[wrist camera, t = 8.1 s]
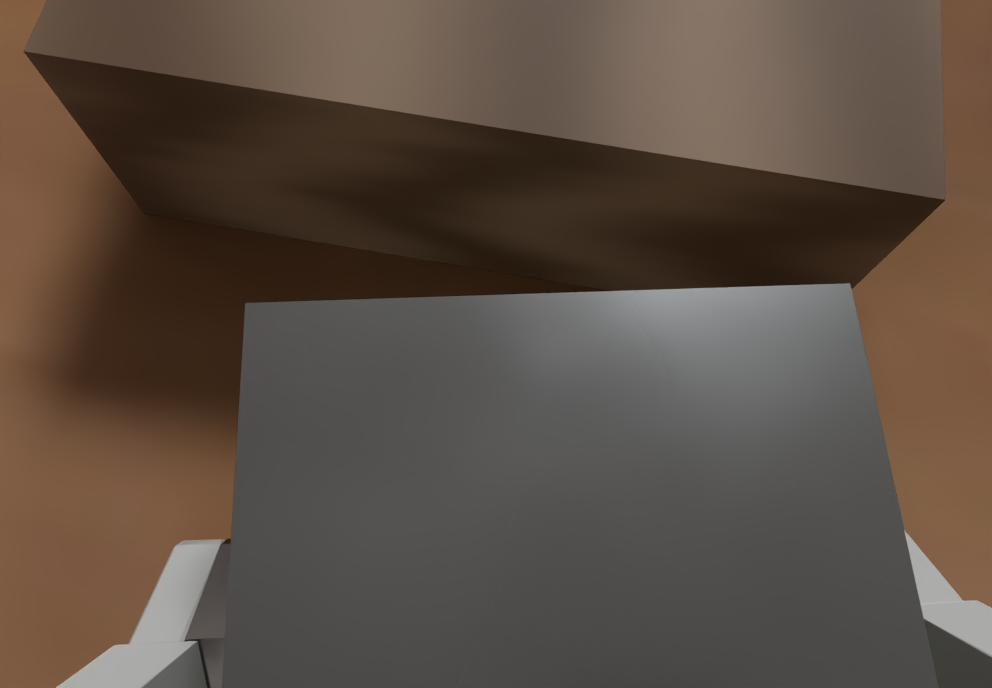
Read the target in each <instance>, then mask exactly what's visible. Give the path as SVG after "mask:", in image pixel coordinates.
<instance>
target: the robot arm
mask: <svg viewBox="0 0 992 688" xmlns="http://www.w3.org/2000/svg"><path fill="white" fill-rule="evenodd" d="M904 531H905V530H904ZM905 536H906V540H907V545H908V549H909V554H910V559H911V563H912V568H913V572H914V577H915V581H916V586H917V590H918V595H919V600H920V604H921V609H922V613H923V618H924V622H925V627H926V632H927V636H928V641H929V645H930V650H931V654H932V659H933V663H934V668H935V673H936V677H937V682H938V686H939V688H992V608H991V607H989V606H987V605H985V604H983V603H981V602H979V601H977V600H975V601H963V600H962V599H961V598H960V596H959V595H958V594H957V593H956V592H955V590H954V589H953V588H952V587H951V586H950V584H949V583H948V582H947V581H946V580H945V578H944V577H943V576H942V575H941V574H940V572H939V571H938V570H937V569H936V568H935V566H934V565H933V564H932V563H931V562H930V560H929V559H928V558H927V557H926V556H925V554H924V553H923V552H922V551H921V550H920V548H919V547H918V546H917V545H916V544H915V542H914V541H913V540H912V539H911V538H910V536H909V535H908V534H907V533H906V532H905ZM230 544H231V539H226V540H223V539H212V540H186V541H181V542H180V543H179V544H177V545H176V546H175V547H174V548H173V550H172V552H171V554H170V556H169V558H168V560H167V563H166V565H165V567H164V569H163V571H162V573H161V575H160V577H159V580H158V582H157V584H156V586H155V588H154V590H153V592H152V594H151V597H150V599H149V601H148V603H147V605H146V607H145V609H144V612H143V614H142V616H141V618H140V620H139V622H138V624H137V626H136V629H135V631H134V633H133V635H132V637H131V639H130V641H129V644H126V645H114V646H112V647H111V648H110V649H108V650H107V651H106V652H104V653H103V654H102V655H100V656H99V657H97V658H96V659H95V660H93V661H92V662H91V663H89V664H88V665H86V666H85V667H84V668H82V669H81V670H80V671H78V672H77V673H76V674H74V675H73V676H71V677H70V678H69V679H67V680H66V681H65V682H63V683H62V684H60V685H59V686H58V687H56V688H222V675H223V659H224V642H225V626H226V610H227V593H228V577H229V561H230Z"/></svg>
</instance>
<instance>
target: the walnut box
mask: <svg viewBox="0 0 992 688" xmlns="http://www.w3.org/2000/svg"><path fill="white" fill-rule="evenodd" d="M24 52H25V54H26V55H27V57H28V58H29V59H30V61H31V62H32V63H33V65H34V66H35V67H36V69H37V70H38V71H39V73H40V74H41V75H42V77H43V78H44V79H45V81H46V82H47V83H48V85H49V86H50V87H51V89H52V90H53V91H54V93H55V94H56V95H57V97H58V98H59V99H60V101H61V102H62V103H63V105H64V106H65V107H66V109H67V110H68V112H69V113H70V114H71V116H72V117H73V118H74V120H75V121H76V122H77V124H78V125H79V126H80V128H81V129H82V130H83V132H84V133H85V134H86V136H87V137H88V138H89V140H90V141H91V142H92V144H93V145H94V146H95V148H96V149H97V150H98V152H99V153H100V154H101V156H102V157H103V158H104V160H105V161H106V162H107V164H108V165H109V167H110V168H111V169H112V171H113V172H114V173H115V175H116V176H117V177H118V179H119V180H120V181H121V183H122V184H123V185H124V187H125V188H126V189H127V191H128V192H129V193H130V195H131V196H132V197H133V199H134V200H135V201H136V203H137V204H138V205H139V207H140V208H141V209H142V211H143V212H144V213H145V214H151V215H157V216H163V217H169V218H175V219H181V220H187V221H193V222H199V223H205V224H211V225H217V226H223V227H229V228H235V229H241V230H247V231H253V232H259V233H265V234H271V235H277V236H283V237H289V238H295V239H301V240H307V241H313V242H319V243H325V244H331V245H337V246H343V247H349V248H356V249H362V250H368V251H374V252H380V253H386V254H392V255H398V256H404V257H410V258H416V259H422V260H428V261H434V262H440V263H446V264H452V265H458V266H464V267H470V268H476V269H482V270H488V271H494V272H500V273H506V274H512V275H518V276H524V277H530V278H536V279H542V280H548V281H554V282H560V283H566V284H572V285H578V286H584V287H590V288H596V289H602V290H608V291H630V290H661V289H692V288H723V287H754V286H785V285H815V284H846V283H850V285H851V289H852V288H854V287H855V286H856V285H857V284H858V283H859V282H860V281H861V280H862V279H863V278H864V277H865V276H866V275H867V274H868V273H869V272H870V271H871V270H872V269H873V268H874V267H876V266H877V265H878V264H879V263H880V262H881V261H882V260H883V259H884V258H885V257H886V256H887V255H888V254H889V253H890V252H891V251H892V250H893V249H894V248H895V247H897V246H898V245H899V244H900V243H901V242H902V241H903V240H904V239H905V238H906V237H907V236H908V235H909V234H910V233H911V232H912V231H913V230H914V229H915V228H916V227H917V226H919V225H920V224H921V223H922V222H923V221H924V220H925V219H926V218H927V217H928V216H929V215H930V214H931V213H932V212H933V211H934V210H935V209H936V208H937V207H938V206H940V205H941V204H942V203H943V202H944V201H945V161H944V121H943V82H942V42H941V2H940V0H47V1H46V4H45V6H44V8H43V10H42V12H41V14H40V17H39V19H38V21H37V23H36V25H35V27H34V30H33V32H32V34H31V36H30V38H29V40H28V43H27V45H26V47H25V49H24Z"/></svg>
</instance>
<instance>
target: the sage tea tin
mask: <svg viewBox="0 0 992 688" xmlns="http://www.w3.org/2000/svg"><path fill="white" fill-rule="evenodd" d="M222 688H939V686H938V682H937V677H936V673H935V668H934V663H933V659H932V654H931V650H930V645H929V641H928V636H927V632H926V627H925V622H924V618H923V613H922V609H921V604H920V600H919V595H918V590H917V586H916V581H915V577H914V572H913V568H912V563H911V559H910V554H909V549H908V545H907V540H906V536H905V531H904V527H903V522H902V517H901V513H900V508H899V504H898V499H897V495H896V490H895V486H894V481H893V476H892V472H891V467H890V463H889V458H888V454H887V449H886V444H885V440H884V435H883V431H882V426H881V422H880V417H879V413H878V408H877V403H876V399H875V394H874V390H873V385H872V381H871V376H870V372H869V367H868V362H867V358H866V353H865V349H864V344H863V340H862V335H861V330H860V326H859V321H858V317H857V312H856V308H855V303H854V299H853V294H852V289H851V285H850V283H846V284H815V285H785V286H754V287H723V288H692V289H661V290H630V291H599V292H569V293H538V294H507V295H476V296H445V297H414V298H383V299H353V300H322V301H291V302H260V303H245V315H244V332H243V348H242V365H241V381H240V397H239V414H238V430H237V446H236V463H235V479H234V495H233V512H232V528H231V544H230V561H229V577H228V593H227V610H226V626H225V642H224V659H223V675H222Z"/></svg>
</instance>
